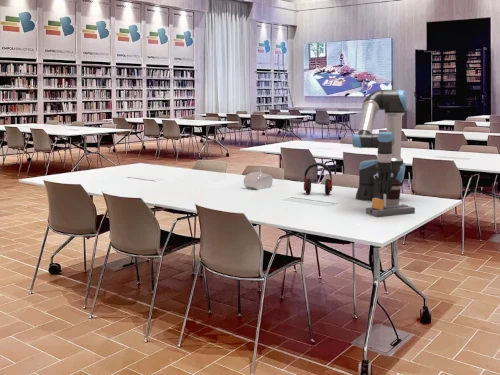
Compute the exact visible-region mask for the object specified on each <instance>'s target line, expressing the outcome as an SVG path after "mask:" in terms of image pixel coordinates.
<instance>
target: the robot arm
mask: <svg viewBox="0 0 500 375" xmlns="http://www.w3.org/2000/svg"><path fill="white" fill-rule="evenodd" d="M361 107H362V108H361V109H362V114H361V118H360V123H359V127H358V132H357V133H354V134H353V135H352V141H351V142H352V147H353V148H359V149H377V157H376V158H377V159H369V160H366V159H365V160H363V161H361V162H360V163H359V167H358V168H359V169H358V170H359V171H358V172H359V176H358V178H359V179H358V188H357V191H356V193H355V199H356V200H360V201H361V200H362V201H372V198H379V199H383V200H384V203H383V206H386V200H387V194H389V192H391V189H392V184H393V180H394V179H398V180H399V181H400V182H403V180H404V177H405V172H406V164H407V163H405V162H404V158H402V130H403V129H402V126H403V116H404V115H405V114H406V111H407V110H408V108H409V106H408V96H407V92H406V90H404V89H377V90H375V91H372V92H371V93H369V94H368V95H367V96H366V97H365V99H364V100H363V103H362V105H361ZM379 111H384V114H385V115H386V131H379V132H378V133H373V132H374V131H373V130H374V126H375V121H376V120H375V119H376V116H377V113H378V112H379Z"/></svg>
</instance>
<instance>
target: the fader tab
mask: <svg viewBox="0 0 500 375" xmlns="http://www.w3.org/2000/svg"><path fill="white" fill-rule="evenodd" d="M371 201H372V202H371V207H372V208H375V210H376V209H378V210H379V209H383V203H384V200H383V199H379V198H372V200H371Z"/></svg>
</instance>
